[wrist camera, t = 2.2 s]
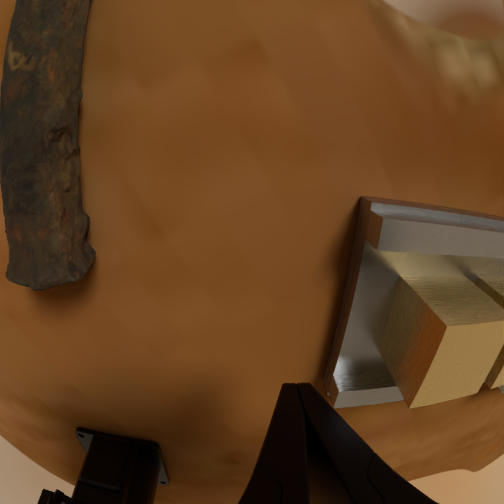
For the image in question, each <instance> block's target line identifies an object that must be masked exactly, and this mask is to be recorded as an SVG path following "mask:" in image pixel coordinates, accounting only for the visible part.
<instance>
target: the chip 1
mask: <svg viewBox="0 0 504 504" xmlns="http://www.w3.org/2000/svg"><path fill="white" fill-rule="evenodd" d="M503 344H504V309H503V308H502V307H501V306H500V305H499V304H497V303H496V302H495V301H494V300H493V299H492V298H491V297H489V296H488V295H487V294H486V293H485V292H483V291H482V290H481V289H480V288H479V287H477V286H476V285H475V284H474V283H472V282H471V281H470V280H469V279H468V278H466V277H438V276H400V279H399V282H398V286H397V290H396V294H395V297H394V301H393V304H392V308H391V311H390V314H389V318H388V321H387V324H386V327H385V331H384V334H383V337H382V340H381V343H380V346H379V349H378V351H379V353H380V355H381V357H382V358H383V360H384V362H385V364H386V366H387V368H388V369H389V371H390V373H391V375H392V377H393V379H394V381H395V383H396V385H397V387H398V388H399V390H400V392H401V394H402V396H403V398H404V400H405V402H406V404H407V406H408V408H409V409H410V408H416V407H421V406H426V405H431V404H435V403H440V402H444V401H448V400H453V399H457V398H461V397H464V396H468V395H472V394H475V393H477V392H478V391H479V389H480V387H481V386H482V384H483V382H484V380H485V379H486V377H487V375H488V373H489V371H490V370H491V368H492V366H493V364H494V362H495V360H496V358H497V356H498V354H499V352H500V350H501V348H502V346H503Z"/></svg>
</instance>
